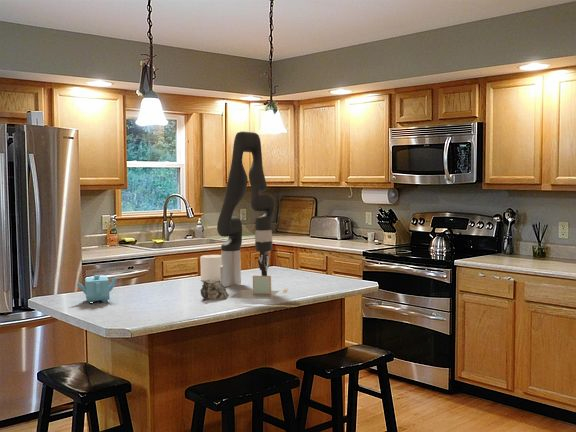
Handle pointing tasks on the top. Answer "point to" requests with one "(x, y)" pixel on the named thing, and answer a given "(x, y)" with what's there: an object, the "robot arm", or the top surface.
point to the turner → (284, 290)
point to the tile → (261, 284)
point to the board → (250, 294)
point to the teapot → (97, 288)
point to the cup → (210, 267)
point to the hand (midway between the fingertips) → (264, 278)
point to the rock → (213, 290)
